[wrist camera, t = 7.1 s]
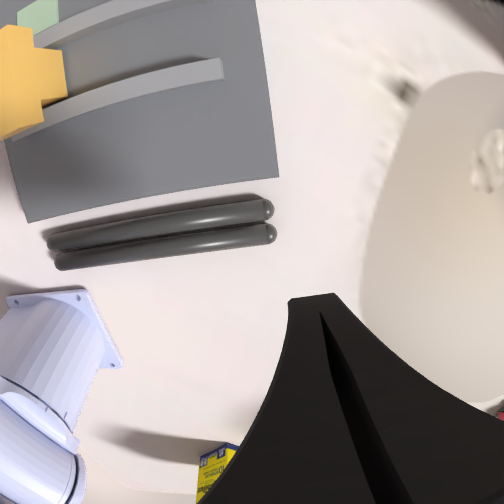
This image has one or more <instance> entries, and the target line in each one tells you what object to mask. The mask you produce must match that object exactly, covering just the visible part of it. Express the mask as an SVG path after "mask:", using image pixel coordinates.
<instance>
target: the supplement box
mask: <svg viewBox="0 0 504 504" xmlns="http://www.w3.org/2000/svg"><path fill="white" fill-rule="evenodd" d="M238 448H239V447H238V446H235V445H232V444H229V443H227V444H225V445H223V446H222V447H220V448H219V449H217V450H215V451H213V452H211V453H209V454H206V455H203V456H201V457H200V463H199V474H198V484H197V497H196V504H197V503H198V501H199V500H200V499H201V498H202V497H203V496H204V495H205V493H206V492H207V491H208V490H209V489H210V487H211V486H212V485H213V484H214V482H215V481H216V480H217V478H218V477H219V476H220V474H221V473H222V472H223V470H224V469H225V467H226V466H227V464H228V463H229V461H230V460H231V458H232V457H233V455H234V454H235V452H236V451H237V449H238Z"/></svg>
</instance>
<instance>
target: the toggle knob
mask: <svg viewBox="0 0 504 504" xmlns="http://www.w3.org/2000/svg"><path fill="white" fill-rule="evenodd" d="M66 97H68V92H67V86H66V79H65V72H64V65H63V56H62V51H61V50H53V49H44V48H35V47H34V42H33V28H28V27H22V26H15V25H6V26H5V27H3V28H2V29H0V141H3V140H5V139H7V138H9V137H11V136H13V135H15V134H17V133H19V132H22V131H24V130H26V129H28V128H30V127H33V126H35V125H37V124H39V123H42V122H44V117H43V112H42V107H45V106H47V105H49V104H51V103H54V102H56V101H59V100H61V99H63V98H66Z"/></svg>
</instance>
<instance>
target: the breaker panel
mask: <svg viewBox="0 0 504 504" xmlns="http://www.w3.org/2000/svg"><path fill="white" fill-rule="evenodd" d="M6 25H15V26H22V27H28V28H33V42H34V47H35V48H44V49H53V50H61V51H62V56H63V65H64V72H65V79H66V86H67V92H68V97H66V98H63V99H61V100H59V101H56V102H54V103H51V104H49V105H47V106H45V107H42V112H43V117H44V122H42V123H39V124H37V125H35V126H33V127H30V128H28V129H26V130H24V131H22V132H19V133H17V134H15V135H13V136H11V137H9V138H7V139H5V144H6V149H7V153H8V158H9V162H10V166H11V170H12V173H13V177H14V181H15V184H16V188H17V191H18V194H19V198H20V201H21V204H22V207H23V210H24V213H25V216H26V219H27V222H28V223H32V222H36V221H40V220H44V219H48V218H52V217H56V216H60V215H65V214H69V213H73V212H77V211H82V210H86V209H91V208H95V207H100V206H105V205H110V204H114V203H119V202H124V201H129V200H134V199H140V198H145V197H150V196H156V195H161V194H167V193H173V192H178V191H184V190H190V189H197V188H203V187H209V186H216V185H223V184H230V183H237V182H244V181H252V180H260V179H268V178H276V177H279V171H278V162H277V154H276V145H275V137H274V129H273V121H272V113H271V105H270V98H269V90H268V83H267V76H266V69H265V62H264V55H263V48H262V41H261V35H260V28H259V22H258V15H257V9H256V3H255V0H0V29H2V28H3V27H5V26H6ZM273 214H274V206H273V204H272V203H271V202H270V201H269V200H267V199H259V200H251V201H243V202H236V203H229V204H222V205H215V206H208V207H201V208H194V209H188V210H181V211H175V212H169V213H163V214H157V215H151V216H145V217H139V218H133V219H128V220H122V221H117V222H111V223H106V224H101V225H95V226H90V227H85V228H80V229H75V230H70V231H65V232H60V233H56V234H52V235H50V236H49V237H48V239H47V247H48V248H49V250H51V251H53V252H57V251H62V250H68V249H74V248H80V247H86V246H92V245H98V244H104V243H110V242H116V241H123V240H129V239H135V238H142V237H148V236H155V235H162V234H168V233H175V232H182V231H189V230H196V229H203V228H211V227H218V226H225V225H233V224H240V223H248V222H256V221H264V220H268V219H270V218H271V217H272V216H273ZM276 237H277V231H276V229H275V227H274V226H273V225H271V224H258V225H250V226H243V227H235V228H227V229H220V230H213V231H205V232H198V233H191V234H184V235H177V236H170V237H163V238H156V239H149V240H143V241H136V242H129V243H123V244H116V245H110V246H104V247H97V248H91V249H85V250H79V251H73V252H67V253H61V254H58V255H57V256H56V257H55V260H54V264H55V267H56V268H57V269H58V270H60V271H65V270H73V269H80V268H88V267H95V266H103V265H111V264H118V263H126V262H133V261H141V260H149V259H156V258H164V257H172V256H180V255H187V254H195V253H203V252H211V251H219V250H227V249H234V248H242V247H250V246H258V245H266V244H271V243H272V242H274V241H275V239H276Z"/></svg>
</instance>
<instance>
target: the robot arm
mask: <svg viewBox="0 0 504 504" xmlns="http://www.w3.org/2000/svg"><path fill="white" fill-rule="evenodd" d="M77 295H78V296H80V298H79V297H78V296H77ZM6 303H7V305H8V307H9V308H10V309H9V310H8V311H7V312H6V314H5V315H4V316H3V317H2V319H1V320H0V504H81V502H82V500H83V497H84V494H85V490H86V483H87V475H86V467H85V463H84V460H83V458H82V457H81V455H79V454H78V453H77V449H78V446H79V443H80V440H79V439H77V438H76V437H75V436H74V435H73V432H74V429H75V426H76V424H77V421H78V418H79V416H80V413H81V410H82V408H83V405H84V403H85V400H86V397H87V395H88V392H89V390H90V387H91V385H92V383H93V380H94V378H95V375H96V373H97V371H98V368H112V369H120V368H122V367H123V364H124V363H123V361H122V359H121V357H120V355H119V353H118V351H117V349H116V347H115V346H114V344H113V342H112V340H111V338H110V336H109V334H108V332H107V330H106V328H105V326H104V323H103V321H102V319H101V317H100V315H99V313H98V311H97V309H96V306H95V304H94V302H93V300H92V297H91V295H90V293H89V292H88V291H87V290H85V289H77V290H67V291H56V292H46V293H35V294H23V295H12V296H8V297H7V298H6ZM197 504H504V421H503V420H501V419H498V418H496V417H494V416H492V415H489V414H487V413H485V412H483V411H481V410H479V409H477V408H475V407H473V406H471V405H469V404H467V403H466V402H464V401H462V400H460V399H459V398H457V397H455V396H453V395H452V394H450V393H448V392H447V391H445V390H443V389H441V388H440V387H438V386H437V385H435V384H434V383H432V382H431V381H429V380H428V379H427V378H425V377H424V376H423V375H421V374H420V373H418V372H417V371H416V370H414V369H413V368H412V367H410V366H409V365H408V364H407V363H406V362H404V361H403V360H402V359H401V358H399V357H398V356H397V355H396V354H395V353H394V352H393V351H391V350H390V349H389V348H388V347H387V346H386V345H385V344H384V343H383V342H381V341H380V340H379V339H378V338H377V337H376V336H375V335H374V334H373V333H372V332H371V331H370V330H369V329H368V328H367V327H366V326H365V325H364V324H363V323H362V322H361V321H360V320H359V319H358V318H357V317H356V316H355V315H354V314H353V313H352V312H351V310H350V309H349V308H348V307H347V306H346V305H345V304H344V303H343V302H342V300H341V299H340V298H339V297H338V296H337V295H336V294H335V293H328V294H321V295H314V296H307V297H300V298H292V299H290V300H289V301H288V323H287V330H286V335H285V339H284V344H283V348H282V352H281V356H280V359H279V362H278V365H277V368H276V371H275V374H274V377H273V380H272V382H271V385H270V387H269V390H268V392H267V395H266V397H265V399H264V401H263V404H262V406H261V408H260V410H259V412H258V414H257V416H256V418H255V420H254V422H253V424H252V425H251V427H250V429H249V431H248V433H247V435H246V436H245V438H244V440H243V441H242V443H241V445H240V446H239V448H238V449H237V451H236V452H235V454H234V455H233V457H232V458H231V460H230V461H229V463H228V464H227V466H226V467H225V469H224V470H223V472H222V473H221V474H220V476H219V477H218V478H217V480H216V481H215V482H214V484H213V485H212V486H211V487H210V489H209V490H208V491H207V492H206V493H205V495H204V496H203V497H202V498H201V499H200V500H199V501H198V503H197Z"/></svg>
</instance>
